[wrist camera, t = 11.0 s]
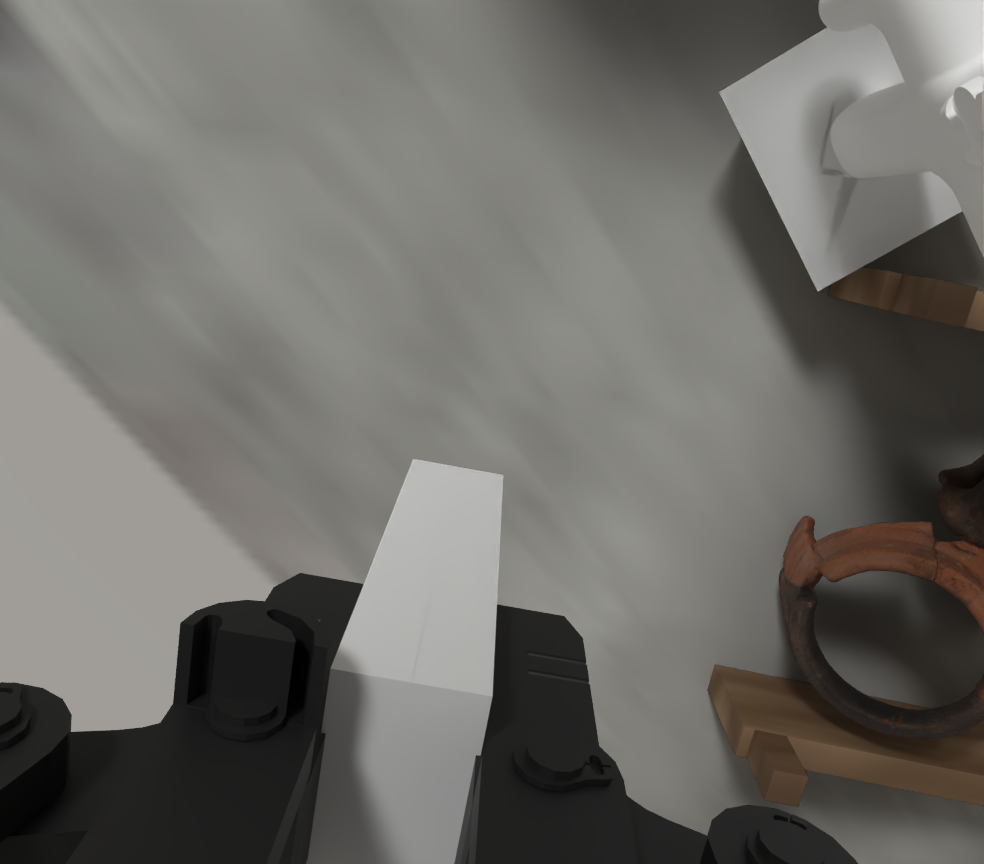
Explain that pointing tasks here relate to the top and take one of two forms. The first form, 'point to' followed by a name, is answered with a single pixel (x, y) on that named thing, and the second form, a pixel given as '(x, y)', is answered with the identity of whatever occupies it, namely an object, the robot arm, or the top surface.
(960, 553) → the broken pottery fragment
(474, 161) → the top surface
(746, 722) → the brown wooden tray
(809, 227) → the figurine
